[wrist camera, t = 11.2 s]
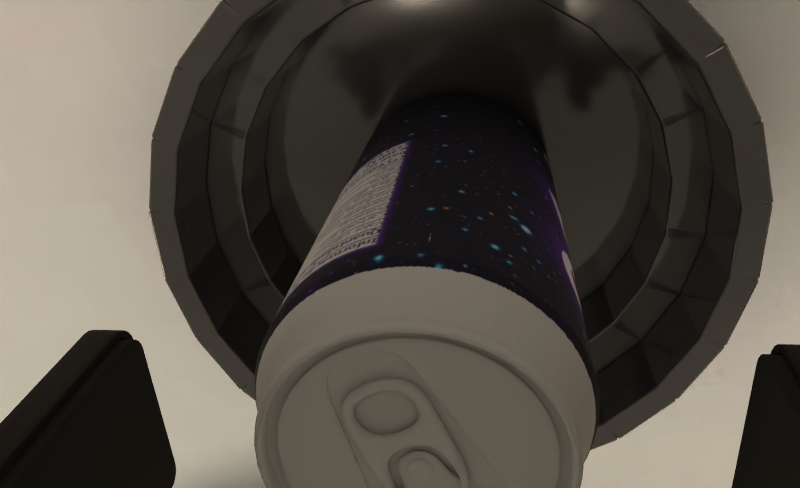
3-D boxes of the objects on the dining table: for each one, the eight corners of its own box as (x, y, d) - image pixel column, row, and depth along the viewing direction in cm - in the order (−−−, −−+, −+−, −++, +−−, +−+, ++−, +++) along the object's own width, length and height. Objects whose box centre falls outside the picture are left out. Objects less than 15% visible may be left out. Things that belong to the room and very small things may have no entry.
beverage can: (412, 287, 23) (340, 626, 12) (329, 135, 21) (155, 378, 10) (578, 224, 21) (665, 552, 10) (505, 52, 19) (519, 239, 8)
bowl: (175, -75, 19) (80, -70, 15) (746, -116, 17) (833, -123, 13) (257, 368, 26) (208, 465, 21) (679, 376, 24) (722, 485, 19)
